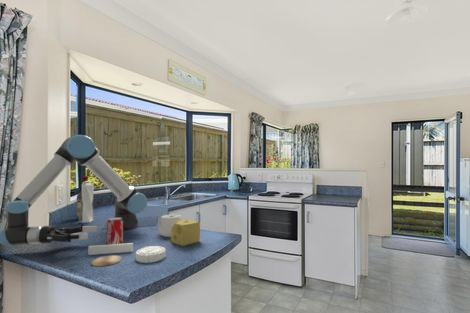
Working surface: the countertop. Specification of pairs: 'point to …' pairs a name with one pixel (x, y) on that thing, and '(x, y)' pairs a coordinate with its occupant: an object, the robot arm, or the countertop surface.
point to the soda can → (115, 231)
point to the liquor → (79, 199)
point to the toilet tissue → (167, 224)
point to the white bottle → (87, 202)
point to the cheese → (185, 232)
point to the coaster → (106, 261)
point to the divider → (110, 248)
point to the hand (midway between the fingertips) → (92, 232)
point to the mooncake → (150, 254)
